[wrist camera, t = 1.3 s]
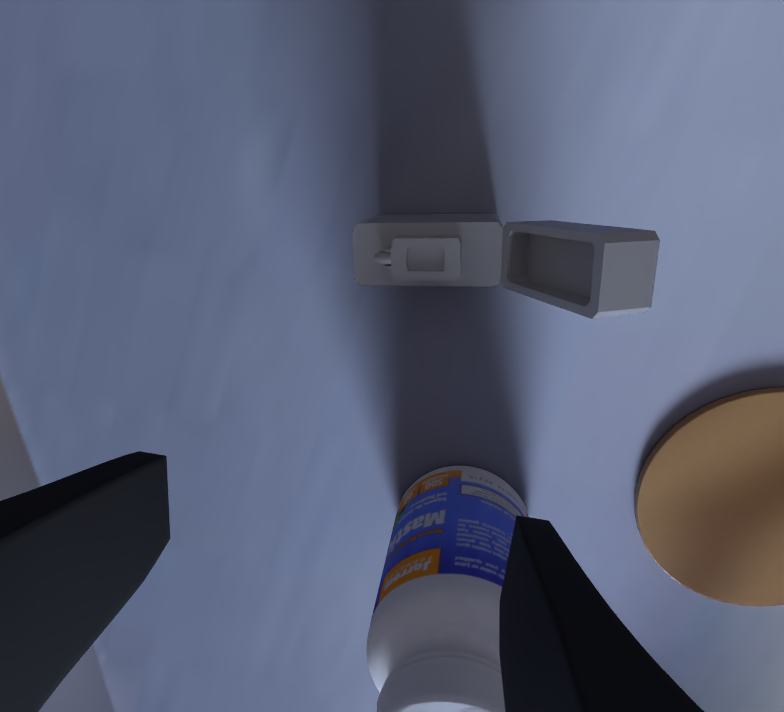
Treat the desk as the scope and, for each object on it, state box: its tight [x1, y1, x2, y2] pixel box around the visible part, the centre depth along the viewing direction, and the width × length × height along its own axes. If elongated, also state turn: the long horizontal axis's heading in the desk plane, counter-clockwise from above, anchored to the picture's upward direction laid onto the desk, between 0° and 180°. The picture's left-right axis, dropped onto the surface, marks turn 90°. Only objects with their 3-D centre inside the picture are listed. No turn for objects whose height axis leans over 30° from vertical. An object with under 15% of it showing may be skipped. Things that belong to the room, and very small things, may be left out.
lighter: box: [352, 213, 660, 319], centre depth 15 cm, size 7×2×8 cm, turn 91°
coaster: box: [634, 388, 784, 606], centre depth 20 cm, size 9×9×1 cm
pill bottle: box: [367, 466, 528, 712], centre depth 18 cm, size 5×5×10 cm
